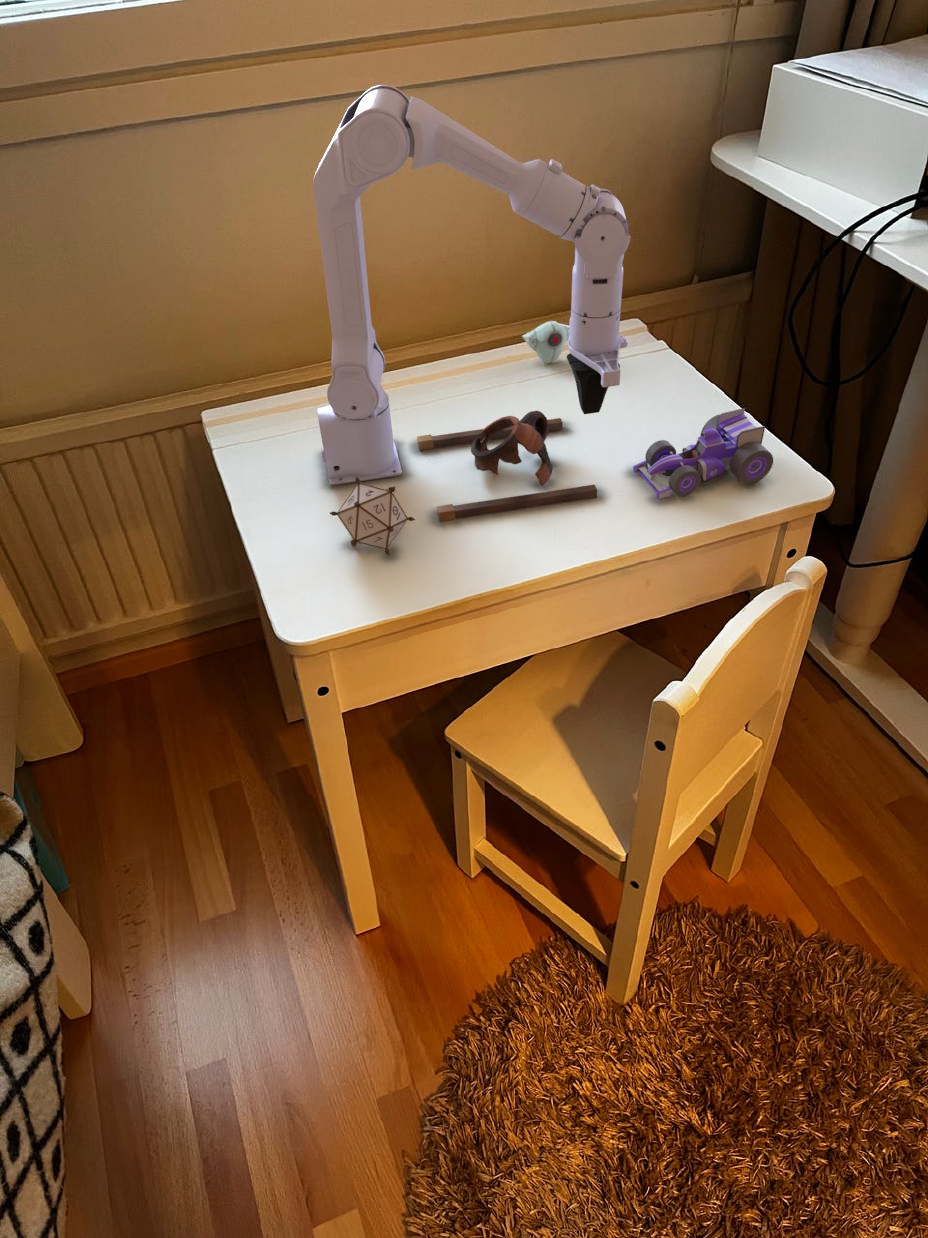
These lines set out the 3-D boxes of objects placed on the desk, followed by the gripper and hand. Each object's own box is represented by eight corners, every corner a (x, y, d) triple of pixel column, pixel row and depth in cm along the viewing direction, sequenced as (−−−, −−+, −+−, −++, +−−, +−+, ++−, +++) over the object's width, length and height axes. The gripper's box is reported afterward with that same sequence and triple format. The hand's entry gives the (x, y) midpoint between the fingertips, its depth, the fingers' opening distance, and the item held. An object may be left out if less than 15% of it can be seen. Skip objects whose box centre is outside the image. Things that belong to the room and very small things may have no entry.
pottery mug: (539, 503, 114) (505, 455, 109) (486, 508, 121) (451, 463, 116) (579, 436, 119) (548, 388, 114) (525, 444, 126) (494, 399, 121)
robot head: (568, 352, 141) (569, 310, 137) (579, 364, 138) (581, 322, 134) (520, 362, 140) (520, 320, 135) (530, 374, 137) (530, 332, 132)
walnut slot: (439, 522, 112) (438, 512, 111) (417, 445, 124) (416, 436, 123) (597, 497, 114) (597, 488, 113) (560, 424, 126) (560, 415, 125)
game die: (366, 561, 112) (334, 485, 111) (429, 537, 111) (397, 459, 109) (346, 575, 104) (311, 493, 102) (414, 549, 102) (379, 465, 100)
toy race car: (627, 466, 118) (631, 422, 114) (729, 441, 121) (737, 398, 117) (662, 507, 112) (668, 462, 107) (769, 480, 115) (779, 435, 110)
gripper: (649, 330, 101) (639, 436, 110) (610, 277, 111) (603, 378, 121) (588, 338, 100) (583, 444, 110) (554, 284, 111) (552, 385, 120)
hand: (590, 410), depth 115 cm, fingers closed
